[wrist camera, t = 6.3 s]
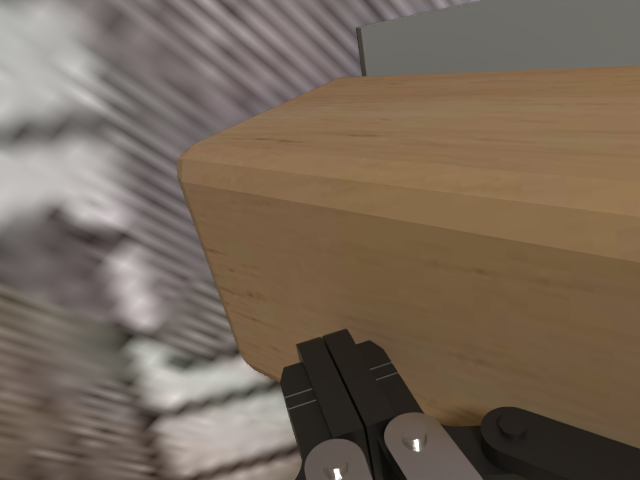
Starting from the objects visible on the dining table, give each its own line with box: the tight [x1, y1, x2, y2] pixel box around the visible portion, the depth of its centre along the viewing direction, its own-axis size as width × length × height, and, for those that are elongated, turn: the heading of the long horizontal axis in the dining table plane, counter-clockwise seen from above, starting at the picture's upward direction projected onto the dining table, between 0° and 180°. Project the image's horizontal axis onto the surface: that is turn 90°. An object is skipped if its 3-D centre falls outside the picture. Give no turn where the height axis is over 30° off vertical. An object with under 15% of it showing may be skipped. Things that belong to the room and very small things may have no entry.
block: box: [177, 66, 640, 449], centre depth 16 cm, size 10×10×20 cm
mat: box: [356, 0, 640, 76], centre depth 28 cm, size 20×14×1 cm
